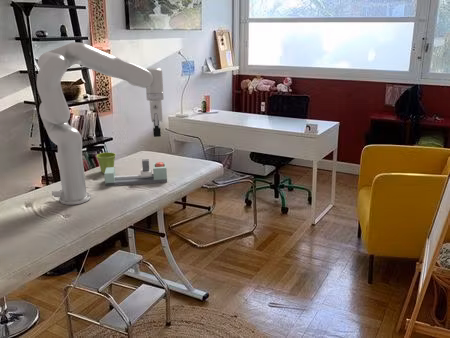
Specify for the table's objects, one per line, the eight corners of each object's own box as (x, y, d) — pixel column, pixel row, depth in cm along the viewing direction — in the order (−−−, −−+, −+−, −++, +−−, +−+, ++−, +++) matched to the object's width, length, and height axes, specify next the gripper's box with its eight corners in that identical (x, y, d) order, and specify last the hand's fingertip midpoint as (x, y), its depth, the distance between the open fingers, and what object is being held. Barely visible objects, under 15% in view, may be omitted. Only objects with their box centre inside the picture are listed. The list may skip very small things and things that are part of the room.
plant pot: (119, 168, 227) (118, 152, 225) (113, 174, 219) (112, 157, 216) (102, 168, 228) (100, 152, 226) (95, 174, 219) (93, 157, 217)
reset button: (156, 170, 208) (155, 164, 207) (156, 168, 211) (155, 162, 210) (163, 170, 208) (163, 164, 207) (163, 168, 212) (163, 162, 211)
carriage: (140, 176, 206) (139, 162, 204) (141, 172, 212) (140, 158, 210) (151, 176, 207) (150, 161, 205) (151, 172, 213) (150, 158, 210)
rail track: (105, 186, 203) (104, 171, 201) (107, 179, 212) (106, 165, 210) (167, 182, 207) (166, 167, 205) (166, 175, 216) (165, 162, 214)
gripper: (163, 98, 192) (165, 139, 198) (163, 93, 207) (165, 132, 212) (146, 99, 191) (148, 140, 197) (146, 94, 205) (149, 132, 211)
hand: (157, 136), depth 205 cm, fingers closed
